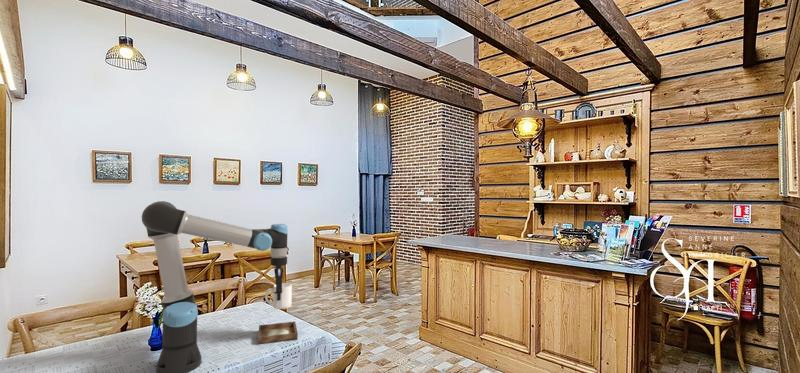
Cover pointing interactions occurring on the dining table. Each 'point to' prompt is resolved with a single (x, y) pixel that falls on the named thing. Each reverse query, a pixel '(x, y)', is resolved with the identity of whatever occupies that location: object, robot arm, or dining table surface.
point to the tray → (277, 332)
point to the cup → (285, 296)
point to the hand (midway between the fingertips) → (278, 304)
